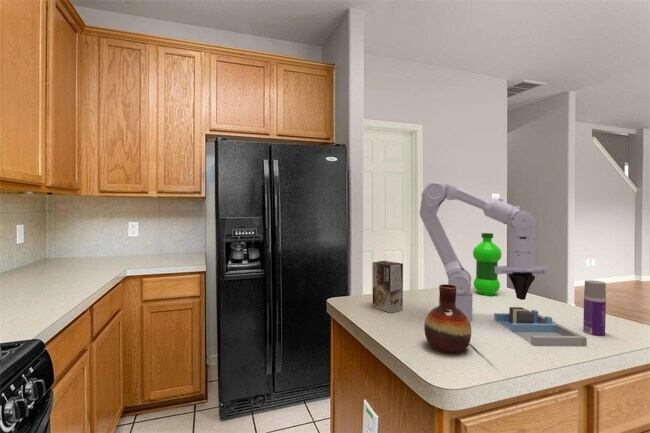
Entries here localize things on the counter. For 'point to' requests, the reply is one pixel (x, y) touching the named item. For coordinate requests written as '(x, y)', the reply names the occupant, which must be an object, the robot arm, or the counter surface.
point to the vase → (447, 324)
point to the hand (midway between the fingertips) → (520, 298)
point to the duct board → (542, 331)
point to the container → (594, 308)
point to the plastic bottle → (486, 265)
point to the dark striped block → (520, 315)
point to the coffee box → (388, 286)
